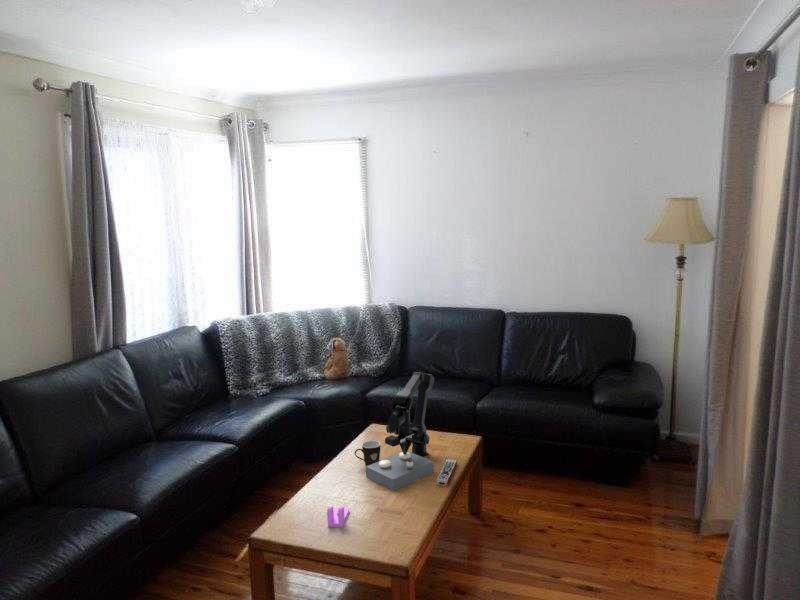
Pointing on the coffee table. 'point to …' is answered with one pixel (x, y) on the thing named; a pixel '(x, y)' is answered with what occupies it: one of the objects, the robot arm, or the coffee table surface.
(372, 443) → the coffee mug
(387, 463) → the knob
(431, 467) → the console block
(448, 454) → the coffee table surface
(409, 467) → the potentiometer
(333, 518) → the bracket
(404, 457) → the knob
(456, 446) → the coffee table surface
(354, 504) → the coffee table surface
